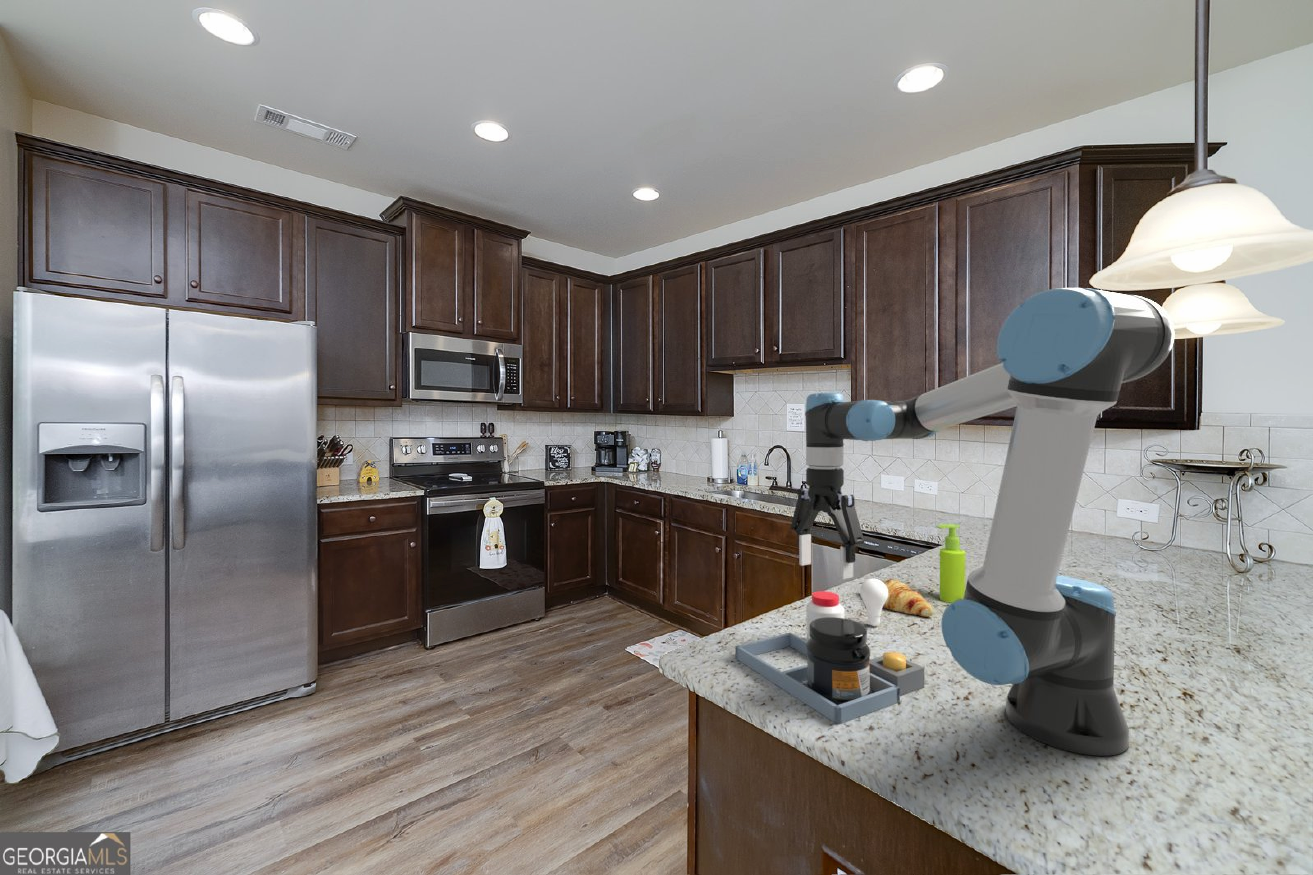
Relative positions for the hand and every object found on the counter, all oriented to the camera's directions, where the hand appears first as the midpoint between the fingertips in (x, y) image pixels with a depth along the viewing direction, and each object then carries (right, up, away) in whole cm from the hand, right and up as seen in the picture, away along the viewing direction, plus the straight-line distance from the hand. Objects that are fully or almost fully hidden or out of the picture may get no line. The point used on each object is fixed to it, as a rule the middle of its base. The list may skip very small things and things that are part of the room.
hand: (825, 570), depth 115 cm
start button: (+8, -15, -16) cm, 23 cm away
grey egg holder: (+8, -16, -16) cm, 24 cm away
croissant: (+26, -15, +25) cm, 39 cm away
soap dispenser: (+42, -15, +29) cm, 53 cm away
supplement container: (-4, -17, -20) cm, 26 cm away
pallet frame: (-7, -17, -14) cm, 23 cm away
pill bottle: (0, -16, 0) cm, 16 cm away
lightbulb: (+15, -16, +11) cm, 24 cm away
